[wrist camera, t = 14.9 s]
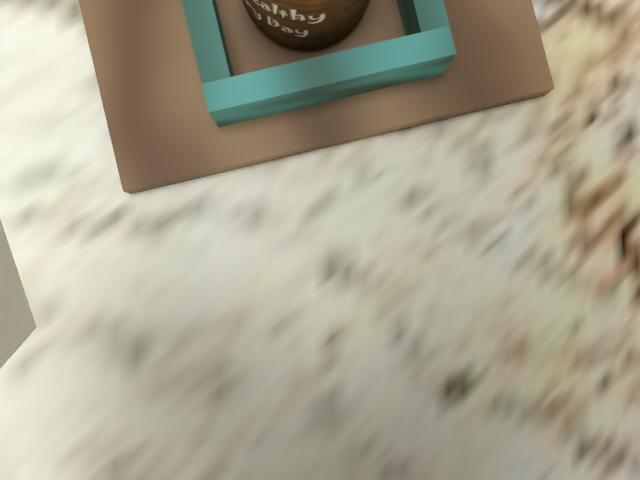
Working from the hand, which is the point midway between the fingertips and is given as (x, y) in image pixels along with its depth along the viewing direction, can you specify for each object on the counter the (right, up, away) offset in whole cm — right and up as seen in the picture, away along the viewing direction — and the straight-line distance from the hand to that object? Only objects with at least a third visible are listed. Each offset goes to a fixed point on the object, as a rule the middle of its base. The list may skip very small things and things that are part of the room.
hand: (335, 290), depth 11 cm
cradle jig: (-1, +12, +16) cm, 20 cm away
